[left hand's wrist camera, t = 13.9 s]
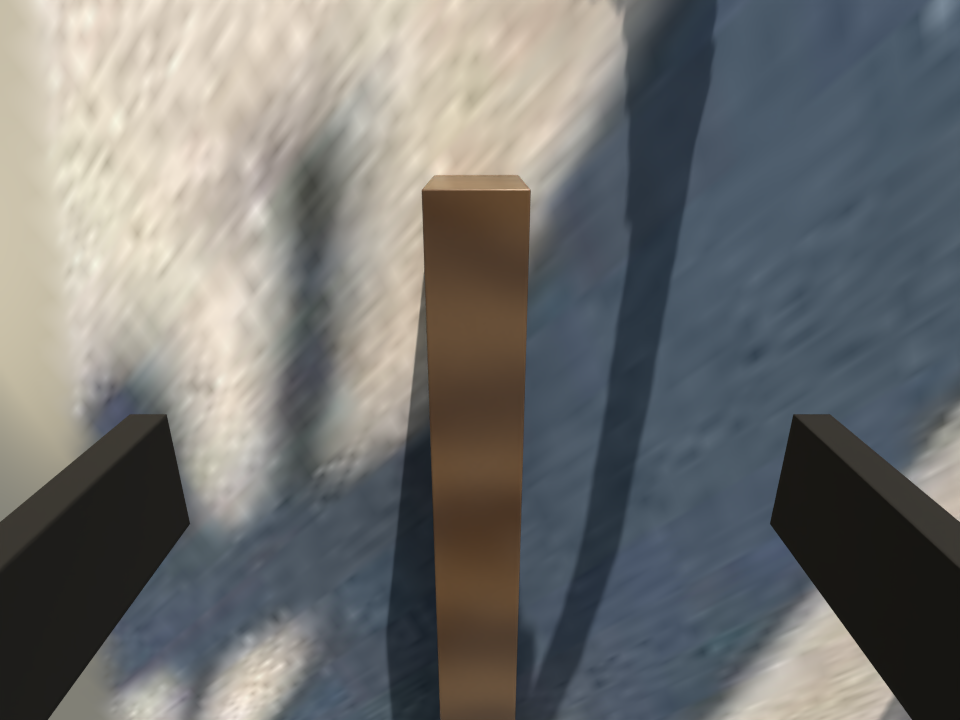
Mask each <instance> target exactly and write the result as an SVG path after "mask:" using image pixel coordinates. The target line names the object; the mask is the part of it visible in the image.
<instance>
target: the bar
mask: <svg viewBox="0 0 960 720" xmlns="http://www.w3.org/2000/svg"><path fill="white" fill-rule="evenodd" d="M530 195H531V190H530V189H529V188H528V186H527V185H526V184H525V183H524V182H523V180H522V179H521V178H520V177H519V176H518V175H435V176H434V177H433V178H432V179H431V180H430V181H429V182H428V184H427V185H426V186H425V187H424V188H423V189H422V211H423V240H424V268H425V297H426V326H427V355H428V384H429V413H430V442H431V470H432V499H433V528H434V557H435V586H436V615H437V643H438V672H439V701H440V720H515V708H516V674H517V639H518V605H519V571H520V537H521V503H522V469H523V434H524V400H525V366H526V332H527V298H528V264H529V229H530Z"/></svg>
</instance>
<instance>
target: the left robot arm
mask: <svg viewBox="0 0 960 720" xmlns="http://www.w3.org/2000/svg"><path fill="white" fill-rule="evenodd" d="M189 524H190V522H189V517H188V512H187V508H186V503H185V498H184V494H183V489H182V484H181V480H180V475H179V470H178V466H177V461H176V456H175V452H174V447H173V442H172V438H171V433H170V428H169V424H168V419H167V414H130V415H129V416H128V417H126V418H125V419H124V420H123V421H121V422H120V423H119V424H118V425H117V426H115V427H114V428H113V429H112V430H111V431H109V432H108V433H107V434H106V435H105V436H103V437H102V438H101V439H100V440H99V441H97V442H96V443H95V444H94V445H93V446H91V447H90V448H89V449H88V450H87V451H85V452H84V453H83V454H82V455H81V456H79V457H78V458H77V459H76V460H74V461H73V462H72V463H71V464H70V465H68V466H67V467H66V468H65V469H64V470H62V471H61V472H60V473H59V474H58V475H56V476H55V477H54V478H53V479H52V480H50V481H49V482H48V483H47V484H46V485H44V486H43V487H42V488H41V489H40V490H38V491H37V492H36V493H35V494H34V495H32V496H31V497H30V498H29V499H28V500H26V501H25V502H24V503H23V504H21V505H20V506H19V507H18V508H17V509H15V510H14V511H13V512H12V513H11V514H9V515H8V516H7V517H6V518H5V519H3V520H2V521H1V522H0V720H48V719H49V717H50V716H51V715H52V713H53V712H54V710H55V709H56V708H57V706H58V705H59V703H60V702H61V701H62V699H63V698H64V697H65V695H66V694H67V692H68V691H69V690H70V688H71V687H72V686H73V684H74V683H75V681H76V680H77V679H78V677H79V676H80V675H81V673H82V672H83V670H84V669H85V668H86V666H87V665H88V664H89V662H90V661H91V659H92V658H93V657H94V655H95V654H96V653H97V651H98V650H99V648H100V647H101V646H102V644H103V643H104V642H105V640H106V639H107V637H108V636H109V635H110V633H111V632H112V630H113V629H114V628H115V626H116V625H117V624H118V622H119V621H120V619H121V618H122V617H123V615H124V614H125V613H126V611H127V610H128V608H129V607H130V606H131V604H132V603H133V602H134V600H135V599H136V597H137V596H138V595H139V593H140V592H141V591H142V589H143V588H144V586H145V585H146V584H147V582H148V581H149V579H150V578H151V577H152V575H153V574H154V573H155V571H156V570H157V568H158V567H159V566H160V564H161V563H162V562H163V560H164V559H165V557H166V556H167V555H168V553H169V552H170V551H171V549H172V548H173V546H174V545H175V544H176V542H177V541H178V540H179V538H180V537H181V535H182V534H183V533H184V531H185V530H186V529H187V527H188V526H189ZM770 524H771V526H772V527H773V529H774V530H775V531H776V533H777V534H778V535H779V537H780V538H781V540H782V541H783V542H784V544H785V545H786V546H787V548H788V549H789V551H790V552H791V553H792V555H793V556H794V557H795V559H796V560H797V562H798V563H799V564H800V566H801V567H802V568H803V570H804V571H805V573H806V574H807V575H808V577H809V578H810V579H811V581H812V582H813V584H814V585H815V586H816V588H817V589H818V591H819V592H820V593H821V595H822V596H823V597H824V599H825V600H826V602H827V603H828V604H829V606H830V607H831V608H832V610H833V611H834V613H835V614H836V615H837V617H838V618H839V619H840V621H841V622H842V624H843V625H844V626H845V628H846V629H847V630H848V632H849V633H850V635H851V636H852V637H853V639H854V640H855V642H856V643H857V644H858V646H859V647H860V648H861V650H862V651H863V653H864V654H865V655H866V657H867V658H868V659H869V661H870V662H871V664H872V665H873V666H874V668H875V669H876V670H877V672H878V673H879V675H880V676H881V677H882V679H883V680H884V681H885V683H886V684H887V686H888V687H889V688H890V690H891V691H892V692H893V694H894V695H895V697H896V698H897V699H898V701H899V702H900V704H901V705H902V706H903V708H904V709H905V710H906V712H907V713H908V715H909V716H910V717H911V719H912V720H960V522H959V521H958V520H957V519H955V518H954V517H953V516H952V515H951V514H949V513H948V512H947V511H946V510H945V509H943V508H942V507H941V506H940V505H939V504H937V503H936V502H935V501H934V500H933V499H931V498H930V497H929V496H928V495H926V494H925V493H924V492H923V491H922V490H920V489H919V488H918V487H917V486H916V485H914V484H913V483H912V482H911V481H910V480H908V479H907V478H906V477H905V476H904V475H902V474H901V473H900V472H899V471H898V470H896V469H895V468H894V467H893V466H892V465H890V464H889V463H888V462H887V461H886V460H884V459H883V458H882V457H881V456H879V455H878V454H877V453H876V452H875V451H873V450H872V449H871V448H870V447H869V446H867V445H866V444H865V443H864V442H863V441H861V440H860V439H859V438H858V437H857V436H855V435H854V434H853V433H852V432H851V431H849V430H848V429H847V428H846V427H845V426H843V425H842V424H841V423H840V422H839V421H837V420H836V419H835V418H834V417H832V416H831V415H830V414H793V419H792V424H791V428H790V433H789V438H788V442H787V447H786V452H785V456H784V461H783V466H782V470H781V475H780V480H779V484H778V489H777V494H776V498H775V503H774V508H773V512H772V517H771V522H770Z"/></svg>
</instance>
